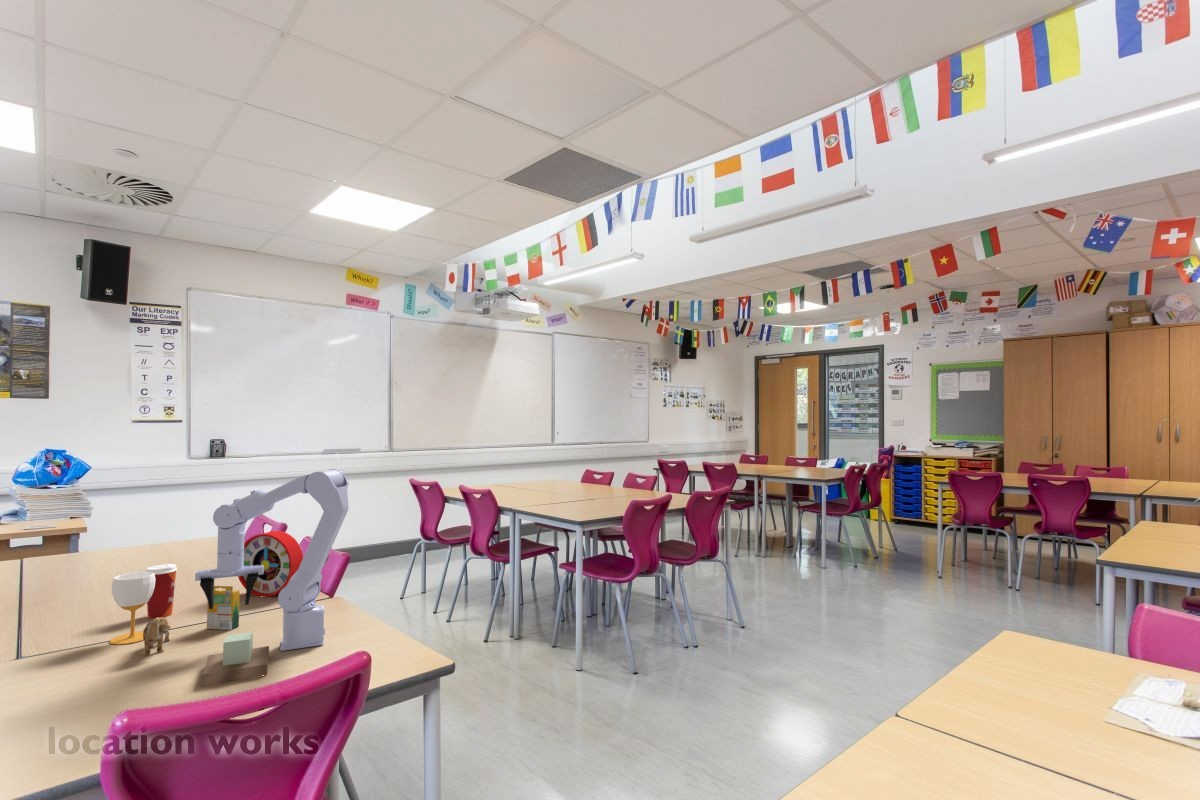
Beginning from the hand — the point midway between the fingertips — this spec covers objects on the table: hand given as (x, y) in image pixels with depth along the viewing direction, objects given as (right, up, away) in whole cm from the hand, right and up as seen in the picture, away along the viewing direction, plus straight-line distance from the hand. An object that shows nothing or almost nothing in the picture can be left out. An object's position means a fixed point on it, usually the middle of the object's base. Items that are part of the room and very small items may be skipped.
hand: (229, 605), depth 148 cm
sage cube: (+12, -6, -16) cm, 21 cm away
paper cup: (-34, -11, +22) cm, 41 cm away
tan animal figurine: (-15, -10, -4) cm, 18 cm away
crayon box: (-9, -10, +11) cm, 18 cm away
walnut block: (+12, -9, -16) cm, 22 cm away
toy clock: (-14, -11, +42) cm, 46 cm away
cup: (-27, -10, +4) cm, 29 cm away
